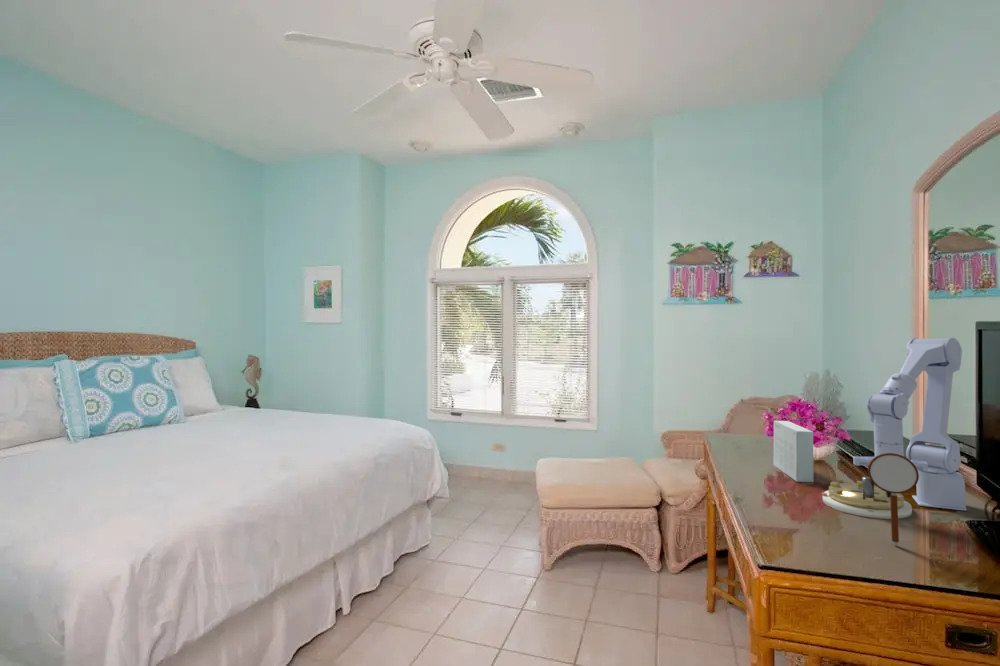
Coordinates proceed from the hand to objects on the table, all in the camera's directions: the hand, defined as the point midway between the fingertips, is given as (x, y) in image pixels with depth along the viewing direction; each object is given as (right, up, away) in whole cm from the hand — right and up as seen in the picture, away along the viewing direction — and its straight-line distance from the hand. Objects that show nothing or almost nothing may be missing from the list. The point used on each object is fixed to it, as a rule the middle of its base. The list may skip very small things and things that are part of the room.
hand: (890, 496), depth 122 cm
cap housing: (0, -5, +8) cm, 9 cm away
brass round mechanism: (0, -3, +8) cm, 9 cm away
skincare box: (-1, -6, +39) cm, 40 cm away
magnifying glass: (-12, -5, -17) cm, 21 cm away
